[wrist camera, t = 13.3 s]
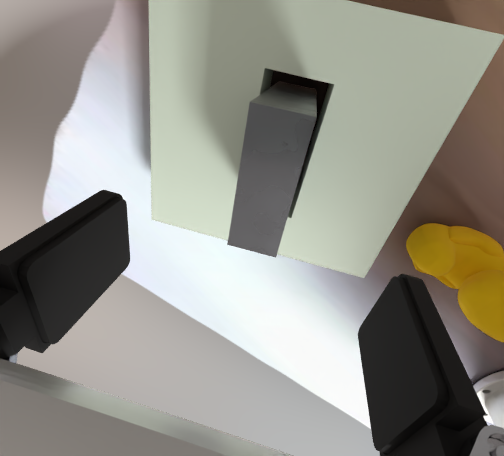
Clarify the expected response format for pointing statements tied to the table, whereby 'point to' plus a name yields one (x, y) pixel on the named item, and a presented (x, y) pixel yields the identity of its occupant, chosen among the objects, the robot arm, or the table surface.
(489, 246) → the duckling
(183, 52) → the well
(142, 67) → the table surface
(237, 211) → the brushed metal pillar
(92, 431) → the robot arm
